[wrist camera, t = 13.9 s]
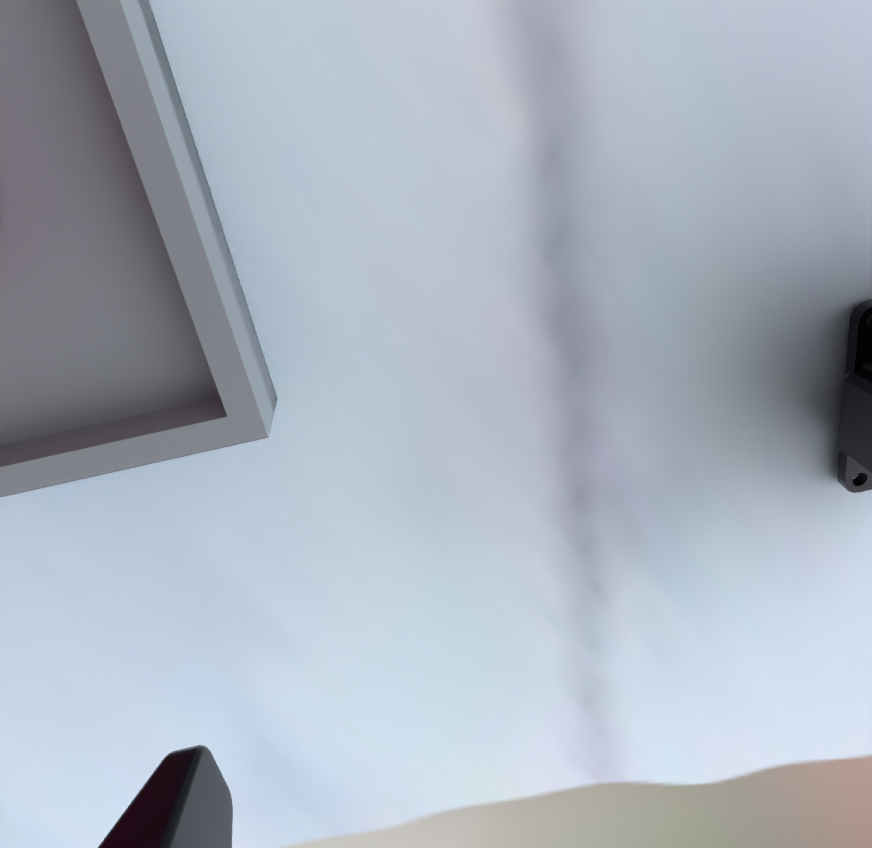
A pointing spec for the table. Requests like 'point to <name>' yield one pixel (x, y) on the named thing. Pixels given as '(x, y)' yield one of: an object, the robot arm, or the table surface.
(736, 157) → the table surface
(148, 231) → the tray
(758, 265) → the table surface
